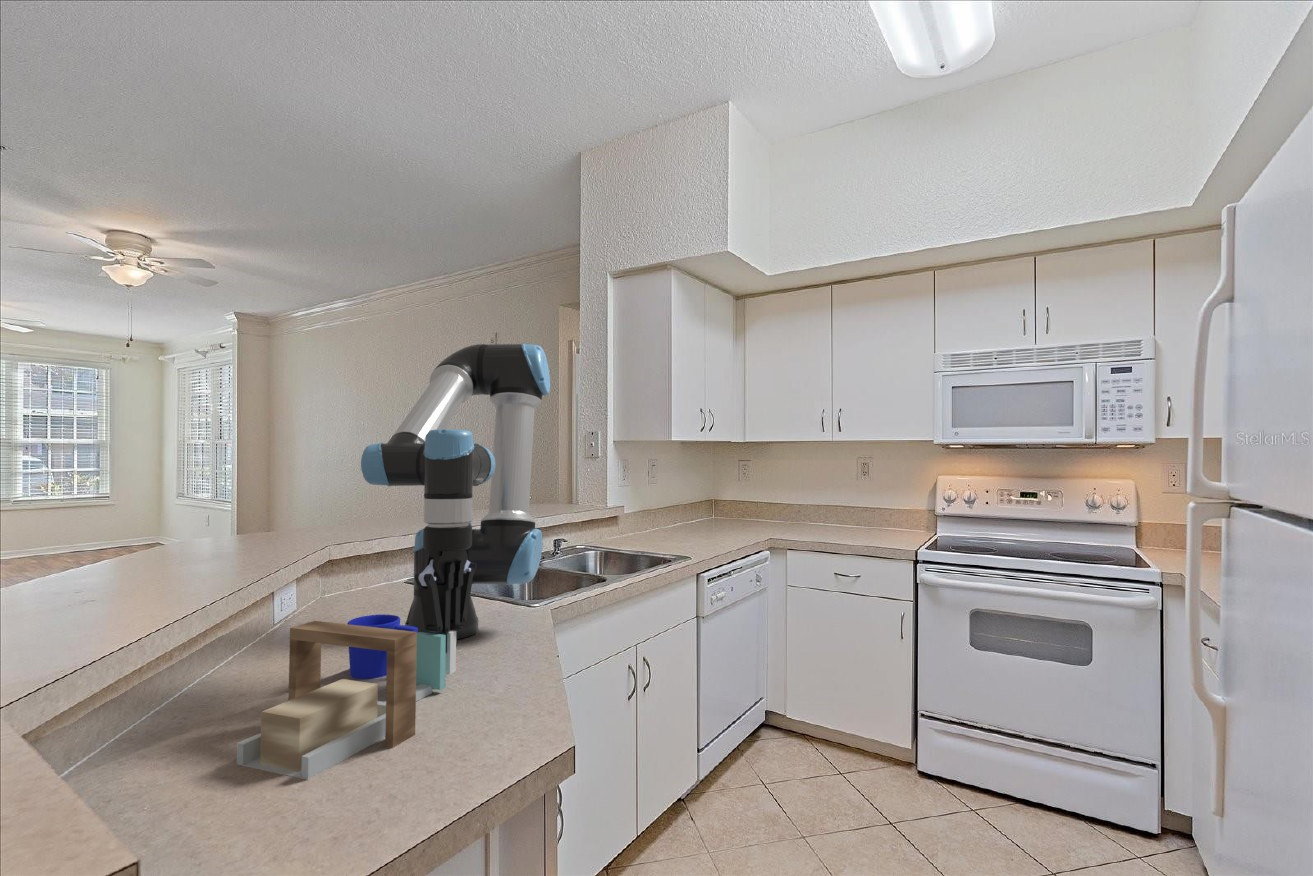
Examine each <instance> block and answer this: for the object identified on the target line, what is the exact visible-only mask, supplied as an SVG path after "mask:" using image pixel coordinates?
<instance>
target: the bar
mask: <svg viewBox="0 0 1313 876" xmlns="http://www.w3.org/2000/svg"><path fill="white" fill-rule="evenodd" d="M378 687H379V685H378V683H372V682H364V681H359V680H354V679H353V680H352V679H346V678H342V679H339V680H336V681H334V682H331V683H329V684H327V685H323V686H320V688H319V689H316V690H314V691H311V692H309V693H306V694H304V695H301V696H299V697H297V698H294V699H292V700H289V701H288V700H287V701H284V702H282V703H280V704H276V705H274V706H272V707H270V708H267V709H265V710H263V711H261V716H260V717H261V718H260V719H261V720H260V733H261V749H260V764H265V765H270V766H274V767H279V768H284V769H288V770H293V771H297V772H299V771H301V767H302V756H303V755H305V754H307V753H309V752H311V751H313V750H315V749H317V748H319V747H321V746H323V745H325V744H327V743H329V742H331V741H333V740H335V739H337V738H339V737H341V736H343V735H344V734H346V733H348V732H350V731H352V730H354V729H356V728H358V727H360V726H362V725H364V724H366V723H368V722H370V721H372V720H374V719H376V718H377V701H379V700H378V699H379V698H378V696H379V694H378V690H379V689H378Z"/></svg>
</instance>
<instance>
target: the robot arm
mask: <svg viewBox="0 0 1313 876" xmlns="http://www.w3.org/2000/svg"><path fill="white" fill-rule="evenodd" d="M548 363H549V362H548V359H547V356H546V353H545V351H544V349H543V348H542V347H541V346H540V345H539V344H538V345H537V344H529V343H528V344H527V343H519V344H517V343H511V344H510V343H508V344H505V343H503V344H501V343H499V344H496V343H495V344H494V343H493V344H491V343H490V344H484V343H480V344H478V343H477V344H472V345H469V346H466V347H463V348H461V349H459V350H457V351H455V352H453V353H452V354H450V355H448V356H447V357H446V358H444V359H443V360H441V362H440V363H439V364H438V365H437V366H436V367H435V368H434V369H433V370H432V372H431V374H430V377H429V384H428V386H427V387H426V388H425V390H424V392H423V393H422V395H421V396H420V397H419V399H418V400H417V401H416V402H415V404H414V406H413V407H412V408H411V410H410V411H409V413H407V416H405V418H404V420H403V421H402V422H401V424H400V425H399V427H397V429H396V430H395V431H394V433H393V435H392V436H391V437H390V438H389V440H388V441H387V442H386V443H383V442H379V443H371V444H369V445H367V446H366V447H365V448H364V450H363V451H362V455H361V457H360V458H361V459H360V471H361V473H362V475H363V476H362V478H364V480H365V481H366V483H368V484H369V485H374V486H387V487H398V486H399V487H404V486H405V487H410V486H412V487H413V486H423V487H424V488H423V493H424V494H423V499H424V506H423V509H424V510H423V522H424V523H425V524H427V526H425V527H424V528H421V529H419V530H418V531H417V532H416V534H415V536H414V549H413V599H412V602H411V605H410V608H409V611H408V614H407V618H406V620H405V622H404V625H405V626H413V627H417V628H418V632H424V633H433V634H442V635H446V654H445V675H452V674H454V673H456V672H457V646H458V640H460V639H465V638H467V637H470V636H473V635H475V634H476V633H478V632H479V617H478V616H477V612H476V608H475V605H474V603H473V602H474V601H473V600H472V599H473V598H472V595H471V593H472V586H473V585H508V586H512V585H523V584H528V583H531V581H532V580H533V579H534V578H535V576H536V575H537V572H538V570H539V567H540V563H541V557H542V553H543V552H542V551H543V540H544V539H543V532H542V531H541V530H540V529H539V528H536V520H535V519H534V518H533V517H532V516H531V515H530V501H531V500H530V499H531V498H530V496H531V480H532V479H531V478H532V460H533V447H534V446H533V443H534V442H533V441H534V427H535V426H534V425H535V424H534V422H535V411H536V409H537V408H538V407H539V406H541V405H542V402H543V401H542V400H543V396H547V395H549V394H550V392H551V390H550V389H551V377H550V368H549V364H548ZM478 395H479V396H480V395H483V396H485V395H486V396H489V401H490V402H491V403H492V404H493V406H494V407H495V419H494V430H493V431H494V432H493V445H492V446H493V448H492V452H491V450H489V448H488V447H486V446H483V445H482V444H481V445H480V444H479V443H474V436H473V435H474V434H473V433H472V431H470V430H466V429H455V428H454V429H447V427H448V426H449V424H450V423H451V421H452V419H453V417H454V416H455V414H456V412H457V411H458V409H459V407H460V406H461V404H463V403H465V402H467V401H468V400H469V399H470V398H471V397H472V396H478ZM489 480H490V488H489V489H490V491H489V502H488V503H489V505H488V506H489V507H488V513H487V514H485V515H484V517H482V519H481V520H480V527H479V528H477V529H476V528H475V529H473V525H472V523H471V522H473V519H474V518H473V516H474V515H473V511H474V510H473V501H474V500H473V487H477V486H478V487H479V485H482V484H484V483H486V482H488V481H489Z"/></svg>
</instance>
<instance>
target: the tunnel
mask: <svg viewBox="0 0 1313 876" xmlns="http://www.w3.org/2000/svg"><path fill="white" fill-rule="evenodd" d="M322 644H324V645H325V644H327V645H334V646H335V645H336V646H341V647H342V646H343V647H348V648H349V647H357V648H365V649H373V650H381V651H387V676H386V679H385V680H386V684H385V685H386V686H385V688H386V689H385V691H386V692H385V694H386V696H385V701H386V735H385V737H384V738H385V744H384V745H385V747H386V748H390V749H391V748H392V749H393V748H395V747H398V746H399V745H400V744H402V743H404V742H406V741H407V740H409V739H411V738H412V737H414V736H416V719H417V718H416V715H417V714H416V710H417V709H416V707H417V705H416V703H417V701H416V654H417V632H412V631H404V630H394V629H385V628H376V627H367V626H358V625H349V624H347V623H341V622H340V623H339V622H338V623H337V622H330V621H329V622H328V621H320V620H313V621H309V622H307V623H303V624H299V625H295V626H292V627H290V628H289V657H288V658H289V663H288V667H289V668H288V697H287V698H288V700H287V701H289V700H292V699H294V698H297V697H299V696H301V695H304V694H306V693H309V692H311V691H314V690H316V689H319V688H321V675H322V674H321V673H322V672H321V668H322V667H321V666H322V665H321V664H322Z"/></svg>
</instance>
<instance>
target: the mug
mask: <svg viewBox="0 0 1313 876" xmlns="http://www.w3.org/2000/svg"><path fill="white" fill-rule="evenodd" d="M400 623H401V618H400V617H399V616H398V615H395V614H383V613H382V614H370V615H364V616H363V615H362V616H359V617H356V618H352V619H350V620H349V621H347V623H346V624H349V625H358V626H367V627H376V628H385V629H394V630H403V631H412V632H417V633H418V628H417V627H413V626H405V624H404V625H402V624H400ZM348 657H349V659H348V661H349V674H350V677H351V678H353V679H355V680H356V679H357V680H372V679H378V678H379V679H380V678H383V677H387V651H381V650H373V649H365V648H357V647H349V646H348Z"/></svg>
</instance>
